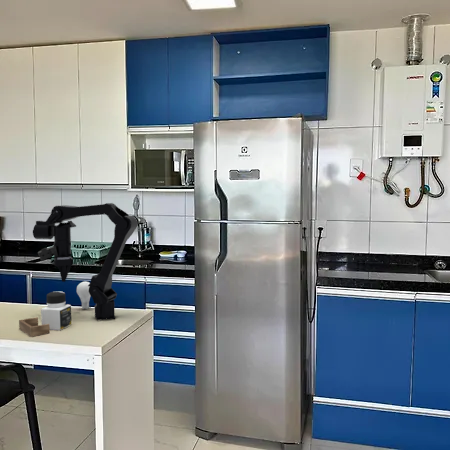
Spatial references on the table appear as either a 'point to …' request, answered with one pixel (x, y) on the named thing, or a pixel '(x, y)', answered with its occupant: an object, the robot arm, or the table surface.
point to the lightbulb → (84, 294)
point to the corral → (33, 327)
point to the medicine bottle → (56, 311)
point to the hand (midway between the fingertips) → (63, 281)
